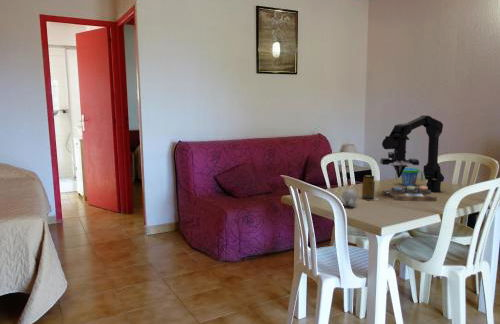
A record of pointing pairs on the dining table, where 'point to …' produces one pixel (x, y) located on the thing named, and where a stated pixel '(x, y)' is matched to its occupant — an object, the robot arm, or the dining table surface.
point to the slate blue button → (397, 188)
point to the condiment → (368, 188)
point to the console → (412, 195)
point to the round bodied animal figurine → (349, 197)
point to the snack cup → (410, 176)
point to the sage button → (410, 187)
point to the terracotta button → (423, 188)
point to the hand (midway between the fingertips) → (398, 177)
